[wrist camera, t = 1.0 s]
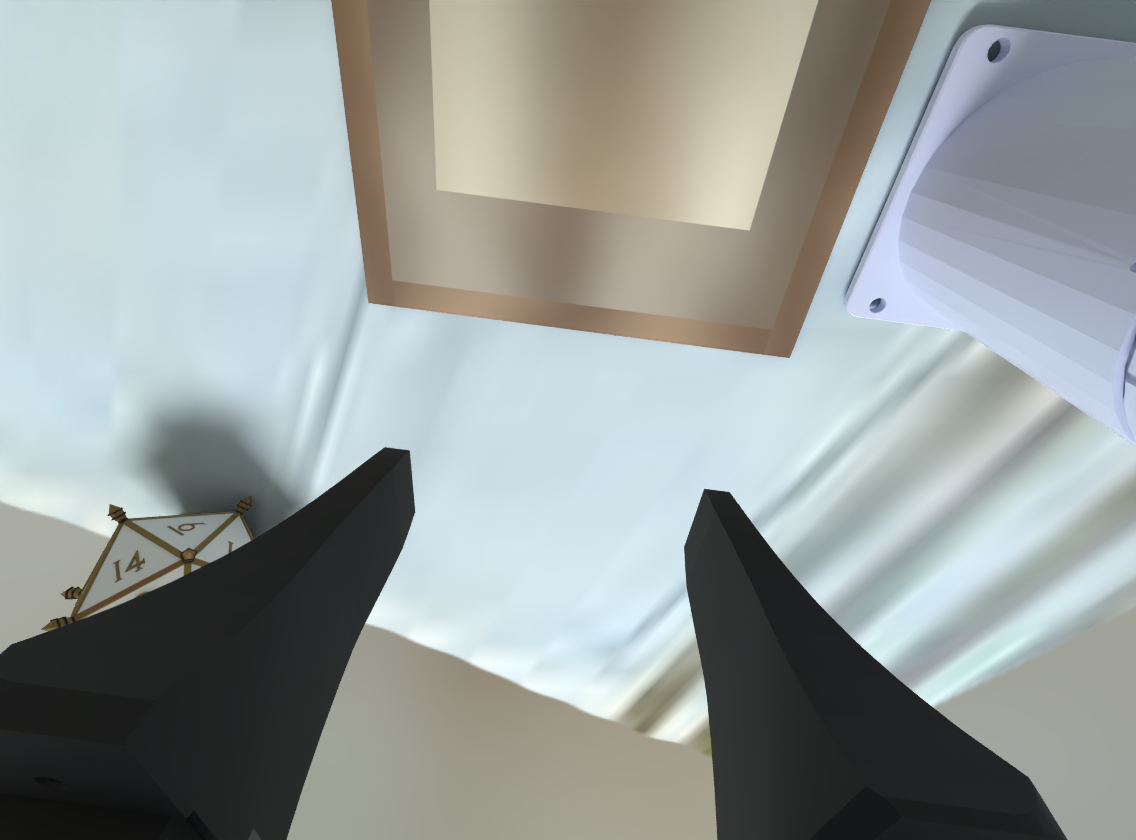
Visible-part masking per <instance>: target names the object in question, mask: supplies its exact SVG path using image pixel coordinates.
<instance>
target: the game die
mask: <svg viewBox="0 0 1136 840" xmlns="http://www.w3.org/2000/svg"><path fill="white" fill-rule="evenodd" d="M237 506H238V507H237V510H235V511H227V512H213V513H200V514H186V515H172V516H159V517H145V518H131V519H128V518H127V517H126V515H125V514H126V512H124V511H123V510H122V509H123V508H120V507H117V506H114V505H111V504H110V506H109V514H108V516H111V517H112V518H113V519H112V520H115V521H117V522H118V523H119V524H118V526H117V528H116V530H115V532H114V533H113V535H112V537H111V539H110V541H109V543H108V544H107V546H106V548H105V550H104V551H103V553H102V555H101V557H100V559H99V560H98V562H97V564H96V566H95V567H94V569H93V571H92V573H91V575H90V576H89V578H88V580H87V582H86V584H85V585H84V587H83V589H80V588H79V587H77V588H74V587H71V588H69V589H68V590H67V591H65V592H63V593H61V595H62V596H64V597H65V599H78V600H77V602H76V605H75V607H74V610H73V612H72V615H71V617H70V618H66V617H62V618H59V619H58V618H57V619H53V620H51V621H50V623H49V624H47V625H46V626H45V627H44V628H42V630H46V631H51V630H54V629H56V628H59V627H62V626H65V625H67V624H70V623H73V622H76V621H78V620H81V619H84V618H87V617H89V616H92V615H94V614H97V613H99V612H102V611H104V610H107V609H110V608H112V607H114V606H117V605H119V604H122V603H124V602H126V601H129V600H131V599H134V598H136V597H138V596H141V595H143V594H145V593H148V592H150V591H152V590H154V589H157V588H159V587H161V586H163V585H166V584H168V583H170V582H172V581H174V580H176V579H178V578H180V577H182V576H184V575H186V574H188V573H190V572H192V571H195V570H197V569H199V568H201V567H203V566H205V565H207V564H209V563H211V562H213V561H215V560H217V559H219V558H221V557H223V556H225V555H226V554H228V553H230V552H232V551H234V550H236V549H237V548H239V547H241V546H243V545H244V544H246V543H248V542H250V541H251V540H253V539H254V538H253V536H252V534H251V531H250V529H249V527H248V525H247V523H246V521H245V519H244V517H243V515H242V514H243V512H245V511H246V510H248V508H249V506H252V505H251V496H250V497H248V498H246V499H244V500H242V501H241V500H240V503H239V505H237Z"/></svg>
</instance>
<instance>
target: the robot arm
mask: <svg viewBox="0 0 1136 840" xmlns="http://www.w3.org/2000/svg"><path fill="white" fill-rule="evenodd" d="M997 40H998V41H999V42H1000V45H1001V48H1000V52H999V54H998V55H997V57H996V58H995V59H994V60H993V61H991V62H990V61H989V60H988V57H987V54H988V50H989V48H990V47H991V45H992V44H993V43H994V42H995V41H997ZM877 298H881V302H880V304H879V305H878V306H877V307H875V308H872V309H869V307H870V304H871V302H872V301H873V300H875V299H877ZM843 304H844V308H845V310H846V311H847V312H848V313H849V314H850V315H852V316H855V317H861V318H868V319H876V320H884V321H891V322H899V323H907V324H914V325H922V326H930V327H937V328H945V329H953V330H960V331H964V332H966V333H967V334H969V335H970V336H972V337H973V338H975V339H976V340H978V341H979V342H981V343H982V344H984V345H985V346H987V347H988V348H990V349H991V350H993V351H994V352H996V353H997V354H999V355H1000V356H1002V357H1003V358H1005V359H1006V360H1007V361H1009V362H1010V363H1012V364H1013V365H1015V366H1016V367H1018V368H1019V369H1021V370H1022V371H1024V372H1025V373H1027V374H1028V375H1030V376H1031V377H1033V378H1034V379H1036V380H1037V381H1039V382H1040V383H1042V384H1043V385H1045V386H1046V387H1048V388H1049V389H1051V390H1052V391H1054V392H1055V393H1057V394H1058V395H1059V396H1061V397H1062V398H1064V399H1065V400H1067V401H1068V402H1070V403H1071V404H1073V405H1074V406H1076V407H1077V408H1079V409H1080V410H1082V411H1083V412H1085V413H1086V414H1088V415H1089V416H1091V417H1092V418H1094V419H1095V420H1097V421H1098V422H1100V423H1101V424H1103V425H1104V426H1106V427H1107V428H1109V429H1110V430H1111V431H1113V432H1114V433H1116V434H1117V435H1119V436H1120V437H1122V438H1123V439H1125V440H1126V441H1128V442H1129V443H1131V444H1132V445H1134V446H1135V447H1136V43H1134V42H1126V41H1118V40H1110V39H1102V38H1094V37H1087V36H1079V35H1071V34H1063V33H1055V32H1047V31H1039V30H1032V29H1024V28H1016V27H1008V26H1000V25H992V24H987V25H979V26H974V27H972V28H971V29H969V30H967V31H965V32H964V33H963V34H962V35H961V36H960V37H959V38H958V40H957V42H956V43H955V45H954V47H953V49H952V51H951V53H950V56H949V58H948V60H947V63H946V65H945V67H944V70H943V72H942V74H941V76H940V79H939V81H938V83H937V86H936V88H935V90H934V93H933V95H932V97H931V100H930V102H929V104H928V107H927V109H926V111H925V113H924V116H923V118H922V120H921V123H920V125H919V127H918V130H917V132H916V134H915V137H914V139H913V141H912V144H911V146H910V148H909V150H908V153H907V155H906V157H905V160H904V162H903V164H902V167H901V169H900V171H899V174H898V176H897V178H896V180H895V183H894V185H893V187H892V190H891V192H890V194H889V197H888V199H887V201H886V204H885V206H884V208H883V211H882V213H881V215H880V217H879V220H878V222H877V224H876V227H875V229H874V231H873V234H872V236H871V238H870V241H869V243H868V245H867V248H866V250H865V252H864V254H863V257H862V259H861V261H860V264H859V266H858V268H857V271H856V273H855V275H854V278H853V280H852V282H851V285H850V287H849V289H848V291H847V294H846V296H845V298H844V303H843ZM414 514H415V505H414V493H413V482H412V471H411V460H410V451H409V450H402V449H394V448H386V447H385V448H383V449H382V450H381V451H379V452H378V453H377V454H375V455H374V456H372V457H371V458H370V459H369V460H367V461H366V462H365V463H363V464H362V465H361V466H359V467H358V468H357V469H355V470H354V471H353V472H352V473H350V474H349V475H348V476H346V477H345V478H344V479H342V480H341V481H340V482H338V483H337V484H336V485H334V486H333V487H332V488H330V489H329V490H327V491H326V492H325V493H323V494H322V495H321V496H319V497H318V498H317V499H315V500H314V501H312V502H311V503H309V504H308V505H306V506H305V507H303V508H302V509H300V510H299V511H297V512H296V513H295V514H293V515H292V516H290V517H289V518H287V519H286V520H284V521H283V522H281V523H280V524H278V525H276V526H275V527H273V528H272V529H270V530H268V531H267V532H265V533H263V534H262V535H260V536H258V537H257V538H255V539H253V540H251V541H250V542H248V543H246V544H244V545H243V546H241V547H239V548H237V549H236V550H234V551H232V552H230V553H228V554H226V555H225V556H223V557H221V558H219V559H217V560H215V561H213V562H211V563H209V564H207V565H205V566H203V567H201V568H199V569H197V570H195V571H192V572H190V573H188V574H186V575H184V576H182V577H180V578H178V579H176V580H174V581H172V582H170V583H168V584H166V585H163V586H161V587H159V588H157V589H154V590H152V591H150V592H148V593H145V594H143V595H141V596H138V597H136V598H134V599H131V600H129V601H126V602H124V603H122V604H119V605H117V606H114V607H112V608H110V609H107V610H104V611H102V612H99V613H97V614H94V615H92V616H89V617H87V618H84V619H81V620H78V621H76V622H73V623H70V624H67V625H65V626H62V627H59V628H56V629H54V630H51V631H48V632H46V633H43V634H40V635H37V636H35V637H32V638H29V639H26V640H23V641H20V642H17V643H14V644H12V645H10V646H9V647H8V648H7V649H6V650H5V651H3V652H2V653H1V654H0V840H286V839H287V836H288V833H289V829H290V826H291V823H292V820H293V817H294V814H295V811H296V807H297V804H298V801H299V798H300V795H301V791H302V788H303V786H304V782H305V780H306V777H307V774H308V771H309V768H310V765H311V762H312V759H313V756H314V753H315V750H316V747H317V745H318V741H319V739H320V736H321V733H322V730H323V727H324V725H325V722H326V719H327V717H328V713H329V711H330V708H331V706H332V703H333V700H334V697H335V695H336V692H337V689H338V687H339V684H340V681H341V679H342V676H343V674H344V671H345V668H346V666H347V663H348V661H349V658H350V656H351V653H352V650H353V648H354V646H355V643H356V641H357V639H358V637H359V635H360V632H361V630H362V628H363V626H364V624H365V622H366V621H367V619H368V617H369V615H370V613H371V611H372V609H373V607H374V605H375V603H376V601H377V599H378V597H379V595H380V593H381V591H382V589H383V587H384V585H385V583H386V581H387V579H388V577H389V575H390V573H391V571H392V569H393V567H394V565H395V563H396V561H397V559H398V557H399V555H400V553H401V550H402V548H403V545H404V543H405V540H406V537H407V535H408V532H409V529H410V526H411V523H412V520H413V517H414ZM684 552H685V570H686V584H687V591H688V596H689V602H690V607H691V612H692V618H693V623H694V628H695V633H696V638H697V643H698V648H699V654H700V659H701V664H702V669H703V674H704V681H705V687H706V694H707V703H708V714H709V724H710V735H711V747H712V760H713V773H714V786H715V803H716V819H717V820H716V821H717V839H718V840H1067V838H1066V837H1065V835H1064V833H1063V832H1062V830H1061V828H1060V827H1059V825H1058V824H1057V822H1056V820H1055V819H1054V817H1053V815H1052V814H1051V812H1050V811H1049V809H1048V807H1047V806H1046V804H1045V802H1044V801H1043V799H1042V798H1041V796H1040V794H1039V793H1038V791H1037V789H1036V788H1035V786H1034V785H1033V783H1032V782H1031V780H1030V779H1029V777H1027V776H1026V775H1024V774H1023V773H1022V772H1020V771H1019V770H1017V769H1016V768H1015V767H1013V766H1012V765H1010V764H1009V763H1008V762H1006V761H1005V760H1003V759H1002V758H1001V757H999V756H998V755H996V754H995V753H993V752H992V751H991V750H989V749H988V748H987V747H985V746H984V745H982V744H981V743H979V742H978V741H976V740H975V739H974V738H972V737H971V736H969V735H968V734H967V733H965V732H964V731H963V730H961V729H960V728H959V727H957V726H956V725H955V724H953V723H952V722H950V721H949V720H948V719H947V718H946V717H944V716H943V715H942V714H941V713H939V712H938V711H937V710H935V709H934V708H933V707H932V706H930V705H929V704H928V703H926V702H925V701H924V700H923V699H921V698H920V697H919V696H918V695H917V694H915V693H914V692H913V691H912V690H910V689H909V688H908V687H907V686H906V685H904V684H903V683H902V682H901V681H900V680H898V679H897V678H896V677H895V676H894V675H893V674H891V673H890V672H889V671H888V670H887V669H886V668H885V667H884V666H882V665H881V664H880V663H879V662H878V661H877V660H876V659H874V658H873V657H872V656H871V655H870V654H869V653H868V652H867V651H866V650H864V649H863V648H862V647H861V646H860V645H859V644H858V643H857V642H856V641H855V640H854V639H853V638H852V637H851V636H850V635H849V634H848V633H847V632H846V631H845V630H844V629H843V628H842V627H841V626H840V625H839V624H838V623H837V622H836V621H835V620H834V619H833V618H832V617H831V616H830V615H829V614H828V613H827V612H826V611H825V610H824V609H823V608H822V607H821V606H820V605H819V604H818V603H817V602H816V601H815V600H814V599H813V597H812V596H811V595H810V594H809V593H808V592H807V591H806V589H805V588H804V587H803V586H802V585H801V584H800V583H799V581H798V580H797V579H796V578H795V577H794V576H793V575H792V573H791V572H790V571H789V570H788V569H787V567H786V566H785V565H784V564H783V562H782V561H781V560H780V559H779V557H778V556H777V555H776V554H775V552H774V551H773V550H772V549H771V547H770V546H769V545H768V543H767V542H766V541H765V540H764V538H763V537H762V536H761V534H760V533H759V532H758V530H757V529H756V528H755V526H754V525H753V524H752V522H751V521H750V519H749V518H748V517H747V515H746V514H745V513H744V511H743V510H742V509H741V507H740V506H739V504H738V503H737V502H736V500H735V499H734V498H733V496H732V495H731V494H730V492H724V491H717V490H709V489H704V491H703V494H702V497H701V500H700V503H699V506H698V509H697V512H696V514H695V517H694V520H693V523H692V526H691V529H690V532H689V535H688V538H687V541H686V543H685V546H684Z"/></svg>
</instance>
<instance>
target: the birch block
mask: <svg viewBox="0 0 1136 840" xmlns="http://www.w3.org/2000/svg"><path fill="white" fill-rule="evenodd" d="M817 3H818V0H429V8H430V34H431V60H432V86H433V112H434V139H435V165H436V190H440V191H448V192H456V193H464V194H471V195H479V196H487V197H494V198H502V199H510V200H518V201H525V202H533V203H541V204H548V205H556V206H564V207H572V208H579V209H587V210H595V211H602V212H610V213H618V214H626V215H633V216H641V217H649V218H656V219H664V220H672V221H680V222H687V223H695V224H703V225H710V226H718V227H726V228H734V229H741V230H749V231H750V228H751V224H752V221H753V218H754V214H755V211H756V208H757V204H758V201H759V198H760V194H761V191H762V188H763V184H764V181H765V177H766V174H767V171H768V167H769V164H770V161H771V157H772V154H773V151H774V147H775V144H776V141H777V137H778V134H779V131H780V127H781V124H782V121H783V117H784V114H785V110H786V107H787V104H788V100H789V97H790V94H791V90H792V87H793V84H794V80H795V77H796V74H797V70H798V67H799V64H800V60H801V57H802V54H803V50H804V47H805V43H806V40H807V37H808V33H809V30H810V27H811V23H812V20H813V17H814V13H815V10H816V7H817Z"/></svg>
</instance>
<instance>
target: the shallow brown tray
mask: <svg viewBox="0 0 1136 840" xmlns="http://www.w3.org/2000/svg"><path fill="white" fill-rule="evenodd" d="M331 1H332V9H333V17H334V25H335V34H336V42H337V50H338V58H339V66H340V74H341V82H342V91H343V99H344V107H345V115H346V123H347V131H348V139H349V148H350V156H351V164H352V172H353V180H354V188H355V197H356V205H357V213H358V221H359V229H360V237H361V245H362V254H363V262H364V270H365V278H366V286H367V294H368V302H369V303H373V304H381V305H388V306H396V307H404V308H411V309H419V310H427V311H434V312H442V313H449V314H457V315H465V316H472V317H480V318H488V319H495V320H503V321H511V322H518V323H526V324H534V325H541V326H549V327H557V328H564V329H572V330H580V331H587V332H595V333H602V334H610V335H618V336H625V337H633V338H641V339H648V340H656V341H664V342H671V343H679V344H687V345H694V346H702V347H710V348H717V349H725V350H733V351H740V352H748V353H755V354H763V355H771V356H778V357H786V358H790V355H791V353H792V350H793V348H794V345H795V343H796V340H797V338H798V335H799V333H800V330H801V328H802V325H803V323H804V320H805V318H806V315H807V313H808V310H809V308H810V305H811V302H812V300H813V297H814V295H815V292H816V290H817V287H818V285H819V282H820V280H821V277H822V275H823V272H824V270H825V267H826V265H827V262H828V260H829V257H830V254H831V252H832V249H833V247H834V244H835V242H836V239H837V237H838V234H839V232H840V229H841V227H842V224H843V222H844V219H845V217H846V214H847V212H848V209H849V207H850V204H851V201H852V199H853V196H854V194H855V191H856V189H857V186H858V184H859V181H860V179H861V176H862V174H863V171H864V169H865V166H866V164H867V161H868V159H869V156H870V153H871V151H872V148H873V146H874V143H875V141H876V138H877V136H878V133H879V131H880V128H881V126H882V123H883V121H884V118H885V116H886V113H887V111H888V108H889V106H890V103H891V100H892V98H893V95H894V93H895V90H896V88H897V85H898V83H899V80H900V78H901V75H902V73H903V70H904V68H905V65H906V63H907V60H908V58H909V55H910V52H911V50H912V47H913V45H914V42H915V40H916V37H917V35H918V32H919V30H920V27H921V25H922V22H923V20H924V17H925V15H926V12H927V10H928V7H929V5H930V2H931V0H818V3H817V7H816V10H815V13H814V17H813V20H812V23H811V27H810V30H809V33H808V37H807V40H806V43H805V47H804V50H803V54H802V57H801V60H800V64H799V67H798V70H797V74H796V77H795V80H794V84H793V87H792V90H791V94H790V97H789V100H788V104H787V107H786V110H785V114H784V117H783V121H782V124H781V127H780V131H779V134H778V137H777V141H776V144H775V147H774V151H773V154H772V157H771V161H770V164H769V167H768V171H767V174H766V177H765V181H764V184H763V188H762V191H761V194H760V198H759V201H758V204H757V208H756V211H755V214H754V218H753V221H752V224H751V228H750V231H749V230H741V229H734V228H726V227H718V226H710V225H703V224H695V223H687V222H680V221H672V220H664V219H656V218H649V217H641V216H633V215H626V214H618V213H610V212H602V211H595V210H587V209H579V208H572V207H564V206H556V205H548V204H541V203H533V202H525V201H518V200H510V199H502V198H494V197H487V196H479V195H471V194H464V193H456V192H448V191H440V190H436V165H435V139H434V112H433V86H432V60H431V34H430V8H429V0H331Z"/></svg>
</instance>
